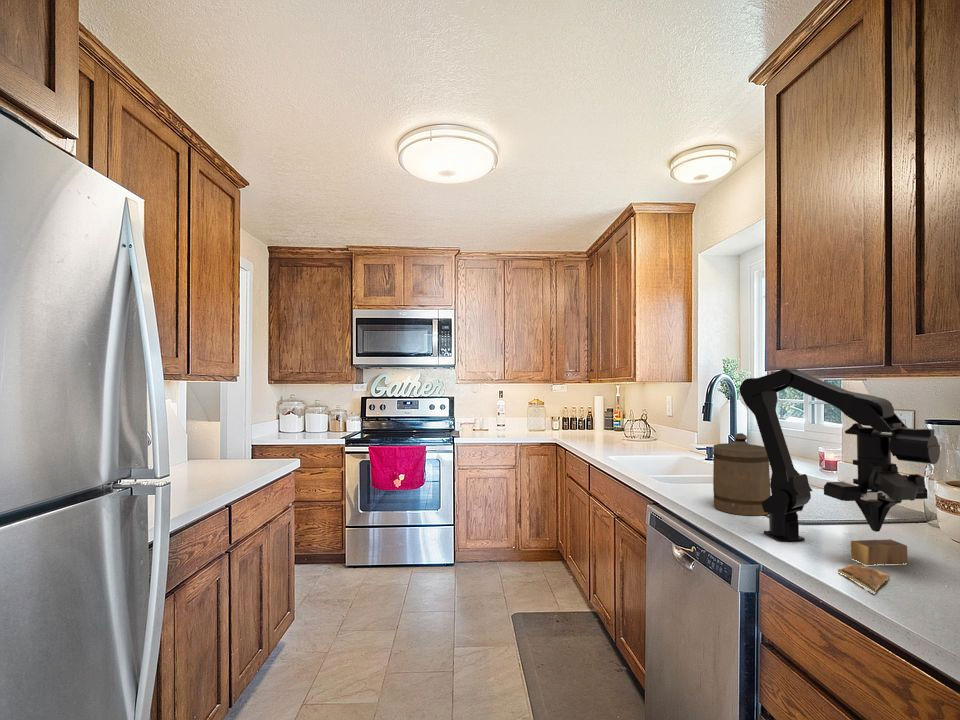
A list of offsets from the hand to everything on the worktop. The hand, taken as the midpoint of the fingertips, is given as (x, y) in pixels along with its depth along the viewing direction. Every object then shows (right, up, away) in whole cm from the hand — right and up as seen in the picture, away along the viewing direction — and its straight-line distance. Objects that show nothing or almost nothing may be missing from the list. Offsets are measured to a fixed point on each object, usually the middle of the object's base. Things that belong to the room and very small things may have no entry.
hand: (875, 531), depth 109 cm
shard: (-8, -7, -10) cm, 15 cm away
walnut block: (-4, -5, 0) cm, 6 cm away
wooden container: (-7, -8, +42) cm, 43 cm away
